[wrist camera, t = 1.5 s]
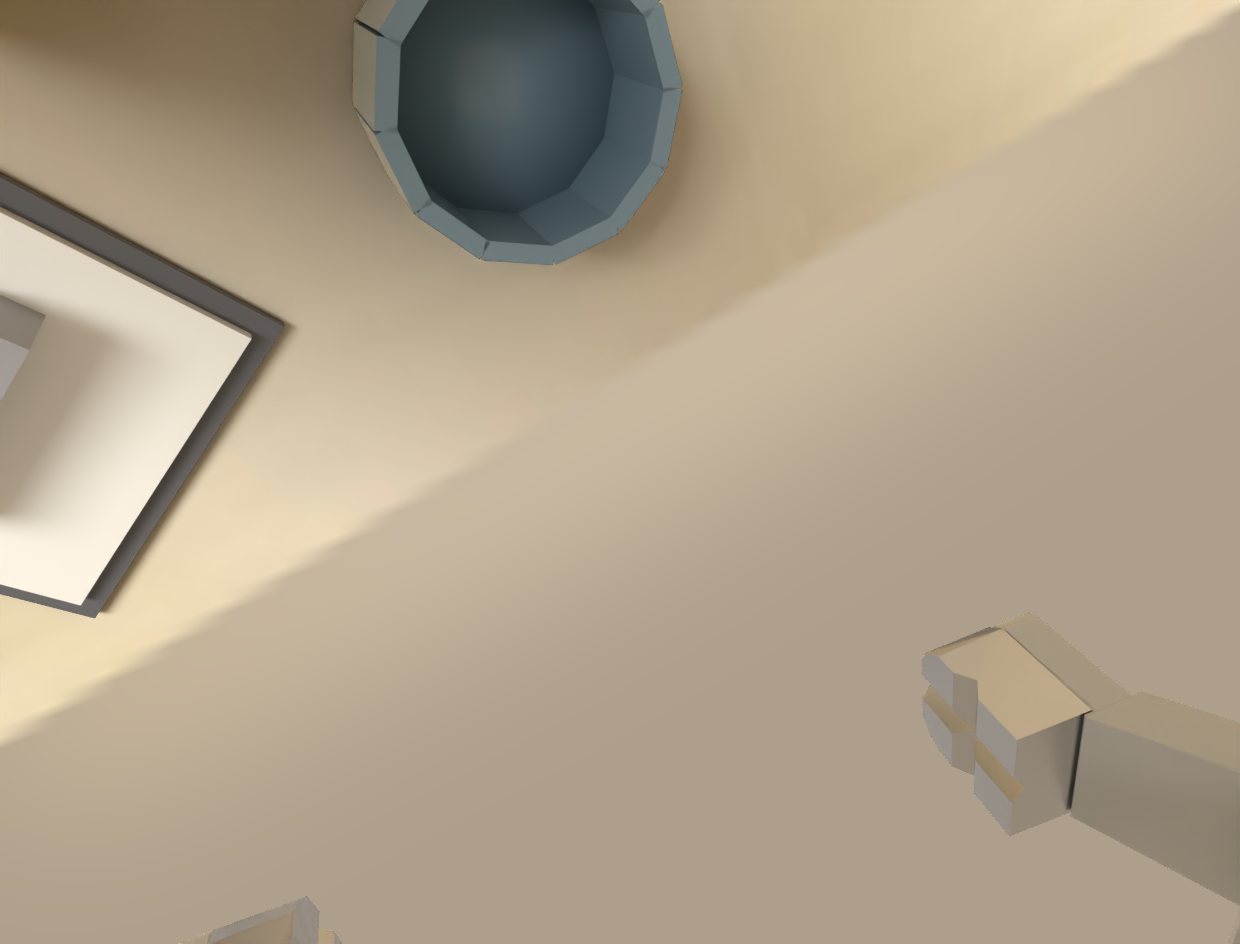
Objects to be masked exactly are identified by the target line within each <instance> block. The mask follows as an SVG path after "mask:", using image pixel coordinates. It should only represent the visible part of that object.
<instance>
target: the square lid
mask: <svg viewBox="0 0 1240 944" xmlns="http://www.w3.org/2000/svg"><path fill="white" fill-rule="evenodd" d="M251 339H252V338H251V333H249V332H247V331H245V330H243V329H241V328H239V327H237V326H235V325H233V324H231V323H229V322H227V321H225V320H223V319H221V318H219V317H217V316H215V315H213V314H211V313H209V312H207V311H205V310H203V309H201V308H199V307H197V306H195V305H193V304H191V303H189V302H188V301H186V300H184V299H182V298H180V297H178V296H176V295H174V294H172V293H170V292H168V291H166V290H164V289H162V288H160V287H158V286H156V285H154V284H152V283H150V282H148V281H146V280H144V279H142V278H140V277H138V276H136V275H134V274H132V273H130V272H128V271H126V270H124V269H122V268H120V267H119V266H117V265H115V264H113V263H111V262H109V261H107V260H105V259H103V258H101V257H99V256H97V255H95V254H93V253H91V252H89V251H87V250H85V249H83V248H81V247H79V246H77V245H75V244H73V243H71V242H69V241H67V240H65V239H63V238H61V237H59V236H57V235H55V234H53V233H51V232H50V231H48V230H46V229H44V228H42V227H40V226H38V225H36V224H34V223H32V222H30V221H28V220H26V219H24V218H22V217H20V216H18V215H16V214H14V213H12V212H10V211H8V210H6V209H4V208H2V207H0V584H1V585H5V586H8V587H12V588H16V589H20V590H24V591H27V592H31V593H35V594H39V595H43V596H46V597H50V598H54V599H58V600H62V601H66V602H69V603H73V604H77V605H81V604H82V603H83V601H84V599H85V598H86V596H87V595H88V593H89V592H90V590H91V589H92V587H93V585H94V584H95V582H96V581H97V579H98V578H99V576H100V574H101V573H102V571H103V570H104V568H105V567H106V565H107V564H108V562H109V560H110V559H111V557H112V556H113V554H114V553H115V551H116V550H117V548H118V546H119V545H120V543H121V542H122V540H123V539H124V537H125V535H126V534H127V532H128V531H129V529H130V528H131V526H132V525H133V523H134V521H135V520H136V518H137V517H138V515H139V514H140V512H141V511H142V509H143V507H144V506H145V504H146V503H147V501H148V500H149V498H150V497H151V495H152V493H153V492H154V490H155V489H156V487H157V486H158V484H159V482H160V481H161V479H162V478H163V476H164V475H165V473H166V472H167V470H168V468H169V467H170V465H171V464H172V462H173V461H174V459H175V458H176V456H177V454H178V453H179V451H180V450H181V448H182V447H183V445H184V443H185V442H186V440H187V439H188V437H189V436H190V434H191V433H192V431H193V429H194V428H195V426H196V425H197V423H198V422H199V420H200V419H201V417H202V415H203V414H204V412H205V411H206V409H207V408H208V406H209V404H210V403H211V401H212V400H213V398H214V397H215V395H216V394H217V392H218V390H219V389H220V387H221V386H222V384H223V383H224V381H225V380H226V378H227V376H228V375H229V373H230V372H231V370H232V369H233V367H234V366H235V364H236V362H237V361H238V359H239V358H240V356H241V355H242V353H243V351H244V350H245V348H246V347H247V345H248V344H249V342H250V341H251Z"/></svg>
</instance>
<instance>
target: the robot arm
mask: <svg viewBox="0 0 1240 944" xmlns="http://www.w3.org/2000/svg"><path fill="white" fill-rule="evenodd" d="M922 675H923V676H924V677H925V678H926V680H927V681H928V682H929V683H930V684H931V685H930V686H929V688H928V689H927V691H926V693H925V694H924V696H923V697H922V703H923V716H924V719H925V721H926V724H927V727H928V730H929V732H930V735H931V737H932V738H933V740H934V742H935V744H936V745H937V747H938V749H939V750H940V752H941V753H942V754H943V755H944V756H945V758H946V759H947V760H948V762H949V763H950V764H951V765H952V766H953V767H956V768H958V769H961V770H963V771H965V772H967V773H970V774H972V775H974V794H975V795H976V796H977V797H978V798H979V800H980V801H981V802H982V803H983V805H984V806H985V807H986V808H987V809H988V811H989V812H990V813H991V814H992V816H993V817H994V818H995V819H996V820H997V822H998V823H999V824H1000V825H1001V826H1002V828H1003V829H1004V830H1005V831H1006V832H1007V834H1008V835H1009V836H1011V835H1014V834H1016V833H1019V832H1021V831H1024V830H1026V829H1029V828H1032V827H1034V826H1037V825H1039V824H1042V823H1044V822H1046V821H1049V820H1052V819H1054V818H1057V817H1059V816H1062V815H1064V814H1067V813H1069V812H1071V815H1070V816H1071V817H1073V818H1075V819H1077V820H1079V821H1081V822H1082V823H1085V824H1086V825H1088V826H1090V827H1092V828H1094V829H1096V830H1098V831H1099V832H1101V833H1103V834H1105V835H1107V836H1109V837H1111V838H1113V839H1115V840H1116V841H1119V842H1120V843H1122V844H1124V845H1126V846H1128V847H1130V848H1132V849H1133V850H1135V851H1137V852H1139V853H1141V854H1143V855H1145V856H1147V857H1149V858H1150V859H1152V860H1154V861H1156V862H1158V863H1160V864H1162V865H1164V866H1166V867H1167V868H1170V869H1171V870H1173V871H1175V872H1177V873H1179V874H1181V875H1183V876H1185V877H1187V878H1188V879H1190V880H1192V881H1194V882H1196V883H1198V884H1200V885H1202V886H1203V887H1205V888H1207V889H1209V890H1211V891H1213V892H1215V893H1217V894H1219V895H1221V896H1222V897H1224V898H1226V899H1228V900H1230V901H1232V902H1234V903H1236V904H1238V905H1240V723H1239V722H1236V721H1233V720H1230V719H1227V718H1223V717H1220V716H1217V715H1214V714H1211V713H1208V712H1204V711H1202V710H1198V709H1195V708H1192V707H1189V706H1186V705H1183V704H1180V703H1176V702H1174V701H1170V700H1167V699H1164V698H1161V697H1158V696H1155V695H1152V694H1148V693H1146V692H1139V693H1137V694H1134V695H1131V694H1130V693H1129V692H1127V691H1126V690H1125V689H1124V688H1123V687H1121V686H1120V685H1119V684H1118V683H1117V682H1116V681H1114V680H1113V679H1112V678H1111V677H1110V676H1108V675H1107V674H1106V673H1105V672H1104V671H1102V670H1101V669H1100V668H1099V667H1098V666H1096V665H1095V664H1094V663H1093V662H1091V661H1090V660H1089V659H1088V658H1087V657H1086V656H1085V655H1083V654H1082V653H1081V652H1080V651H1078V650H1077V649H1076V648H1075V647H1074V646H1072V645H1071V644H1070V643H1069V642H1068V641H1067V640H1065V639H1064V638H1063V637H1061V635H1059V634H1058V633H1057V632H1056V631H1055V630H1054V629H1052V628H1051V627H1050V626H1049V625H1047V624H1046V623H1045V622H1044V621H1043V620H1041V619H1040V618H1039V617H1037V616H1035V615H1032V614H1030V613H1027V614H1024V615H1021V616H1019V617H1016V618H1014V619H1011V620H1009V621H1006V622H1004V623H1001V624H999V625H996V626H994V627H992V628H991V627H988V628H986V629H984V630H981V631H979V632H976V633H974V634H971V635H969V636H967V637H964V638H961V639H959V640H957V641H954V642H952V643H950V644H947V645H945V646H942V647H939V648H937V649H934V650H932V651H930V652H927V653H926V654H925V656H924V658H923V659H922ZM178 944H342V942H341V941H340V939H339V938H338V936H337V935H336V934H335V932H333V931H329V930H325V929H322V928H319V910H318V909H317V908H316V907H315V905H314V904H313V903H312V902H311V901H310V899H309V898H308V897H307V896H306V897H304V898H301V899H298V900H295V901H293V902H290V903H287V904H284V905H281V906H279V907H276V908H273V909H271V910H268V911H265V912H262V913H260V914H257V915H254V916H251V917H248V918H245V919H243V920H240V921H237V922H234V923H232V924H229V925H226V926H223V927H221V928H218V929H215V930H212V931H210V932H207V933H205V934H202V935H199V936H196V937H194V938H191V939H189V940H186V941H183V942H181V943H178ZM1229 944H1240V909H1239V912H1238V915H1237V918H1236V920H1235V923H1234V926H1233V929H1232V932H1231V935H1230V937H1229Z"/></svg>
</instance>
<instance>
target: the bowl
mask: <svg viewBox="0 0 1240 944" xmlns="http://www.w3.org/2000/svg"><path fill="white" fill-rule="evenodd" d="M659 1H660V0H366V1H365V3H364V4H363V6H362V7H361V9H360V11H359V12H358V14H357V16H356V17H355V18H356V19H357V20H358V21H359V22H361V23H356V22H354V47H353V105H354V106H355V108H354V110H355V112H356V114H357V116H358V118H359V120H360V122H361V124H362V126H363V128H364V130H365V132H366V134H367V136H368V138H369V140H370V142H371V144H372V146H373V148H374V150H375V152H376V154H377V156H378V158H379V160H380V162H381V164H382V166H383V168H384V170H385V172H386V174H387V176H388V177H389V179H390V180H391V182H392V183H393V184H394V186H395V187H396V189H397V190H398V192H399V193H400V194H401V196H402V197H403V199H404V200H405V201H406V203H407V204H408V206H409V207H410V208H411V210H412V211H413V213H415V215H416V216H417V217H419V218H420V219H421V220H423V221H424V222H426V223H427V224H429V225H430V226H432V227H433V228H435V229H436V230H438V231H439V232H440V233H442V234H443V235H445V236H446V237H448V238H449V239H451V240H452V241H454V242H455V243H456V244H458V245H459V246H461V247H462V248H464V249H465V250H467V251H468V252H470V253H471V254H472V255H474V256H475V257H477V258H478V259H480V258H481V259H482V260H483V261H498V262H513V263H529V264H544V265H553V262H554V263H555V264H558V263H560V262H562V261H564V260H566V259H568V258H570V257H572V256H574V255H576V254H578V253H580V252H582V251H584V250H586V249H588V248H590V247H592V246H594V245H596V244H599V243H601V242H603V241H605V240H607V239H609V238H611V237H613V236H615V235H617V234H619V233H618V230H617V228H618V229H619V230H621V231H622V230H623V228H624V227H625V226H626V224H627V223H628V222H629V220H630V219H631V217H632V216H633V215H634V213H635V212H636V211H637V209H638V208H639V207H640V205H641V204H642V202H643V201H644V200H645V198H646V197H647V196H648V194H649V193H650V192H651V190H652V189H653V187H654V186H655V185H656V183H657V182H658V181H659V179H660V178H661V177H662V175H663V174H664V172H665V171H664V170H663V169H662V168H661V167H663V168H667V164H668V159H669V154H670V149H671V144H672V139H673V134H674V129H675V124H676V119H677V114H678V109H679V104H680V99H681V94H682V90H681V89H678V87H680V86H682V83H681V79H680V75H679V70H678V66H677V62H676V58H675V54H674V50H673V46H672V42H671V38H670V34H669V30H668V25H667V21H666V17H665V13H664V9H663V5H662V4H661V3H658V2H659Z"/></svg>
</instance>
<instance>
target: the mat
mask: <svg viewBox="0 0 1240 944" xmlns="http://www.w3.org/2000/svg"><path fill="white" fill-rule="evenodd" d="M0 207H2V208H4V209H6V210H8V211H10V212H12V213H14V214H16V215H18V216H20V217H22V218H24V219H26V220H28V221H30V222H32V223H34V224H36V225H38V226H40V227H42V228H44V229H46V230H48V231H50V232H51V233H53V234H55V235H57V236H59V237H61V238H63V239H65V240H67V241H69V242H71V243H73V244H75V245H77V246H79V247H81V248H83V249H85V250H87V251H89V252H91V253H93V254H95V255H97V256H99V257H101V258H103V259H105V260H107V261H109V262H111V263H113V264H115V265H117V266H119V267H120V268H122V269H124V270H126V271H128V272H130V273H132V274H134V275H136V276H138V277H140V278H142V279H144V280H146V281H148V282H150V283H152V284H154V285H156V286H158V287H160V288H162V289H164V290H166V291H168V292H170V293H172V294H174V295H176V296H178V297H180V298H182V299H184V300H186V301H188V302H189V303H191V304H193V305H195V306H197V307H199V308H201V309H203V310H205V311H207V312H209V313H211V314H213V315H215V316H217V317H219V318H221V319H223V320H225V321H227V322H229V323H231V324H233V325H235V326H237V327H239V328H241V329H243V330H245V331H247V332H249V333H251V338H252V339H251V341H250V342H249V344H248V345H247V347H246V348H245V350H244V351H243V353H242V355H241V356H240V358H239V359H238V361H237V362H236V364H235V366H234V367H233V369H232V370H231V372H230V373H229V375H228V376H227V378H226V380H225V381H224V383H223V384H222V386H221V387H220V389H219V390H218V392H217V394H216V395H215V397H214V398H213V400H212V401H211V403H210V404H209V406H208V408H207V409H206V411H205V412H204V414H203V415H202V417H201V419H200V420H199V422H198V423H197V425H196V426H195V428H194V429H193V431H192V433H191V434H190V436H189V437H188V439H187V440H186V442H185V443H184V445H183V447H182V448H181V450H180V451H179V453H178V454H177V456H176V458H175V459H174V461H173V462H172V464H171V465H170V467H169V468H168V470H167V472H166V473H165V475H164V476H163V478H162V479H161V481H160V482H159V484H158V486H157V487H156V489H155V490H154V492H153V493H152V495H151V497H150V498H149V500H148V501H147V503H146V504H145V506H144V507H143V509H142V511H141V512H140V514H139V515H138V517H137V518H136V520H135V521H134V523H133V525H132V526H131V528H130V529H129V531H128V532H127V534H126V535H125V537H124V539H123V540H122V542H121V543H120V545H119V546H118V548H117V550H116V551H115V553H114V554H113V556H112V557H111V559H110V560H109V562H108V564H107V565H106V567H105V568H104V570H103V571H102V573H101V574H100V576H99V578H98V579H97V581H96V582H95V584H94V585H93V587H92V589H91V590H90V592H89V593H88V595H87V596H86V598H85V599H84V601H83V603H82V604H81V605H77V604H73V603H69V602H66V601H62V600H58V599H54V598H50V597H46V596H43V595H39V594H35V593H31V592H27V591H24V590H20V589H16V588H12V587H8V586H5V585H1V584H0V594H2V595H6V596H10V597H14V598H18V599H21V600H25V601H29V602H33V603H37V604H41V605H45V606H49V607H53V608H57V609H60V610H64V611H68V612H72V613H76V614H80V615H84V616H88V617H92V618H96V616H97V614H98V613H99V611H100V610H101V608H102V607H103V605H104V604H105V602H106V601H107V599H108V597H109V596H110V594H111V593H112V591H113V590H114V588H115V587H116V585H117V584H118V582H119V581H120V579H121V577H122V576H123V574H124V573H125V571H126V570H127V568H128V567H129V565H130V564H131V562H132V561H133V559H134V557H135V556H136V554H137V553H138V551H139V550H140V548H141V547H142V545H143V544H144V542H145V540H146V539H147V537H148V536H149V534H150V533H151V531H152V530H153V528H154V527H155V525H156V524H157V522H158V520H159V519H160V517H161V516H162V514H163V513H164V511H165V510H166V508H167V507H168V505H169V504H170V502H171V500H172V499H173V497H174V496H175V494H176V493H177V491H178V490H179V488H180V487H181V485H182V483H183V482H184V480H185V479H186V477H187V476H188V474H189V473H190V471H191V470H192V468H193V467H194V465H195V463H196V462H197V460H198V459H199V457H200V456H201V454H202V453H203V451H204V450H205V448H206V447H207V445H208V443H209V442H210V440H211V439H212V437H213V436H214V434H215V433H216V431H217V430H218V428H219V426H220V425H221V423H222V422H223V420H224V419H225V417H226V416H227V414H228V413H229V411H230V410H231V408H232V406H233V405H234V403H235V402H236V400H237V399H238V397H239V396H240V394H241V393H242V391H243V390H244V388H245V386H246V385H247V383H248V382H249V380H250V379H251V377H252V376H253V374H254V373H255V371H256V369H257V368H258V366H259V365H260V363H261V362H262V360H263V359H264V357H265V356H266V354H267V353H268V351H269V349H270V348H271V346H272V345H273V343H274V342H275V340H276V339H277V337H278V336H279V334H280V333H281V331H282V329H283V328H284V323H283V322H281V321H279V320H277V319H275V318H273V317H271V316H270V315H268V314H266V313H264V312H262V311H260V310H258V309H256V308H254V307H253V306H251V305H249V304H247V303H245V302H243V301H241V300H239V299H237V298H236V297H234V296H232V295H230V294H228V293H226V292H224V291H222V290H220V289H218V288H217V287H215V286H213V285H211V284H209V283H207V282H205V281H203V280H201V279H200V278H198V277H196V276H194V275H192V274H190V273H188V272H186V271H184V270H183V269H181V268H179V267H177V266H175V265H173V264H171V263H169V262H167V261H166V260H164V259H162V258H160V257H158V256H156V255H154V254H152V253H150V252H149V251H147V250H145V249H143V248H141V247H139V246H137V245H135V244H133V243H132V242H130V241H128V240H126V239H124V238H122V237H120V236H118V235H116V234H115V233H113V232H111V231H109V230H107V229H105V228H103V227H101V226H99V225H98V224H96V223H94V222H92V221H90V220H88V219H86V218H84V217H82V216H80V215H79V214H77V213H75V212H73V211H71V210H69V209H67V208H65V207H63V206H62V205H60V204H58V203H56V202H54V201H52V200H50V199H48V198H46V197H45V196H43V195H41V194H39V193H37V192H35V191H33V190H31V189H29V188H28V187H26V186H24V185H22V184H20V183H18V182H16V181H14V180H12V179H11V178H9V177H7V176H5V175H3V174H1V173H0Z"/></svg>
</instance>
